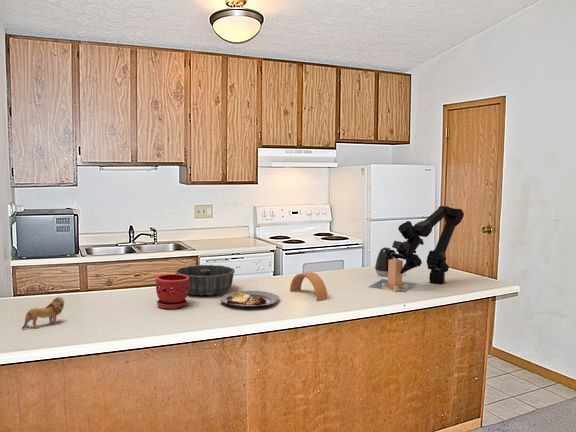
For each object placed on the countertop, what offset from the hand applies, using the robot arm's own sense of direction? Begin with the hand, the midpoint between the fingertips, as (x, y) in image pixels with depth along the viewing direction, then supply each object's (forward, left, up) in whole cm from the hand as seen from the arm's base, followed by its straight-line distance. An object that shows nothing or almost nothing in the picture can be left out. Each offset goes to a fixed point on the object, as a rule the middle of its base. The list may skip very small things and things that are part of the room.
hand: (393, 271), depth 228 cm
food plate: (+44, +51, -10) cm, 68 cm away
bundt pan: (+71, +47, -9) cm, 86 cm away
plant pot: (+67, +72, -9) cm, 99 cm away
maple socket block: (-1, -1, -8) cm, 9 cm away
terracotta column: (-1, -1, -8) cm, 8 cm away
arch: (+29, +28, -9) cm, 41 cm away
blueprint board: (+2, -8, -9) cm, 12 cm away
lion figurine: (+88, +114, -9) cm, 144 cm away
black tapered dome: (+13, -28, -9) cm, 33 cm away
